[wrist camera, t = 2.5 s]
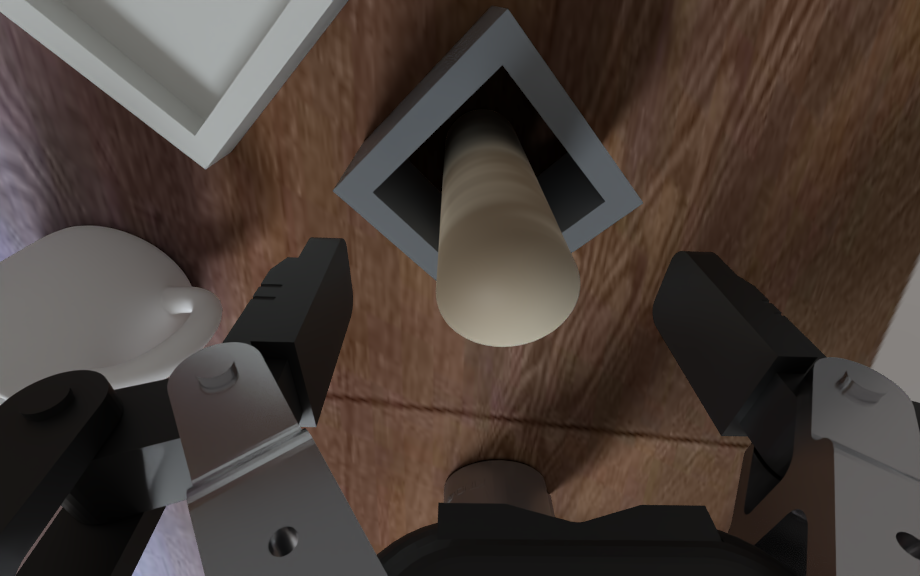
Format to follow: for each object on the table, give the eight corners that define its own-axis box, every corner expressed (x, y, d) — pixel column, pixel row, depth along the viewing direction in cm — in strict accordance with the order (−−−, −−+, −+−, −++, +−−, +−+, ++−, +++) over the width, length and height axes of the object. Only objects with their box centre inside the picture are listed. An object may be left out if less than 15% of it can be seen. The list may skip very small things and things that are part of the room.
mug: (225, 204, 21) (76, 338, 13) (282, 325, 26) (200, 480, 18) (9, 227, 22) (-268, 370, 14) (102, 341, 27) (-59, 499, 18)
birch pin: (531, 149, 20) (607, 296, 10) (477, 196, 21) (497, 365, 11) (485, 91, 18) (521, 198, 9) (429, 145, 20) (405, 290, 10)
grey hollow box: (596, 152, 20) (643, 202, 15) (473, 249, 23) (478, 317, 18) (491, 5, 17) (507, 8, 12) (363, 142, 20) (332, 190, 15)
